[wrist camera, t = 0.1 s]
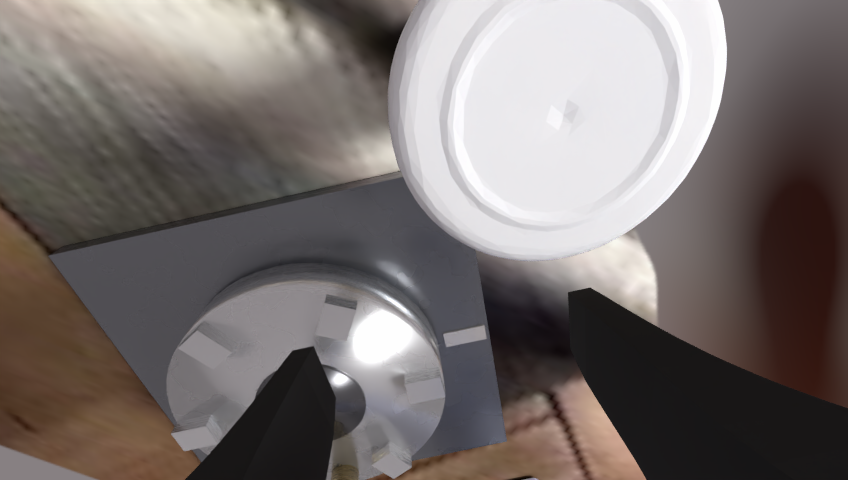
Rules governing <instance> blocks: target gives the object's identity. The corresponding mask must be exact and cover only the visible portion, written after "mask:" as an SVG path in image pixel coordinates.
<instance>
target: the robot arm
mask: <svg viewBox="0 0 848 480" xmlns="http://www.w3.org/2000/svg"><path fill="white" fill-rule="evenodd" d="M568 301H569V326H570V349H571V351H572V353H573V355H574V357H575V359H576V362H577V364H578V366H579V368H580V370H581V372H582V374H583V376H584V378H585V380H586V382H587V384H588V386H589V387H590V389H591V390H592V392H593V394H594V395H595V397H596V398H597V400H598V402H599V403H600V405H601V406H602V408H603V410H604V411H605V413H606V414H607V416H608V418H609V419H610V421H611V422H612V424H613V425H614V427H615V429H616V430H617V432H618V433H619V435H620V436H621V438H622V440H623V441H624V443H625V444H626V446H627V448H628V449H629V451H630V452H631V454H632V455H633V457H634V459H635V460H636V462H637V464H638V465H639V467H640V469H641V471H642V472H643V474H644V476H645V478H646V479H647V480H848V408H845V407H842V406H839V405H836V404H833V403H830V402H828V401H825V400H822V399H819V398H816V397H814V396H811V395H808V394H806V393H803V392H800V391H797V390H794V389H792V388H789V387H786V386H784V385H781V384H779V383H776V382H774V381H771V380H768V379H766V378H763V377H761V376H759V375H756V374H754V373H752V372H749V371H747V370H745V369H742V368H740V367H737V366H735V365H733V364H731V363H728V362H726V361H724V360H722V359H720V358H717V357H715V356H713V355H711V354H709V353H707V352H705V351H703V350H701V349H699V348H697V347H695V346H693V345H691V344H689V343H687V342H685V341H683V340H681V339H679V338H677V337H675V336H673V335H671V334H669V333H668V332H666V331H664V330H662V329H660V328H658V327H657V326H655V325H653V324H651V323H649V322H648V321H646V320H644V319H642V318H641V317H639V316H637V315H635V314H634V313H632V312H630V311H629V310H627V309H625V308H624V307H622V306H620V305H619V304H617V303H615V302H614V301H612V300H610V299H609V298H607V297H605V296H604V295H602V294H600V293H598V292H597V291H595V290H593V289H591V288H586V289H582V290H577V291H572V292H568ZM335 405H336V396H335V394H334V392H333V390H332V387H331V385H330V383H329V380H328V378H327V376H326V373H325V371H324V369H323V366H322V364H321V362H320V360H319V357H318V355H317V353H316V350H315V348H314V346H311V347H307V348H302V349H297V350H293V351H292V352H291V353H290V354H289V355H288V357H287V358H286V359H285V360H284V362H283V363H282V364H281V366H280V367H279V368H278V370H277V371H276V372H275V374H274V375H273V376H272V378H271V379H270V380H269V381H268V383H267V384H266V385H265V387H264V388H263V389H262V391H261V392H260V393H259V394H258V396H257V397H256V398H255V400H254V401H253V402H252V403H251V405H250V406H249V407H248V408H247V410H246V411H245V412H244V414H243V415H242V416H241V417H240V418H239V420H238V421H237V422H236V423H235V424H234V425H233V427H232V428H231V429H230V430H229V431H228V433H227V434H226V435H225V436H224V437H223V438H222V440H221V441H220V442H219V443H218V444H217V446H216V447H215V448H214V449H213V450H212V451H211V452H210V454H209V455H208V456H207V457H206V458H205V459H204V460H203V461H202V462H201V463H200V465H199V466H198V467H197V468H196V469H195V470H194V471H193V472H192V473H191V474H190V475H189V476H188V477H187V478H186V479H185V480H326V477H327V472H328V466H329V460H330V454H331V448H332V443H333V436H334V425H335ZM523 480H538V479H536V478H528V479H523Z"/></svg>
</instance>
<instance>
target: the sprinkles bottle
mask: <svg viewBox="0 0 848 480" xmlns="http://www.w3.org/2000/svg"><path fill="white" fill-rule="evenodd" d="M726 59H727V46H726V37H725V29H724V21H723V16H722V12H721V9H720V5H719V2H718V0H419V1H418V3H417V4H416V6H415V7H414V9H413V11H412V13H411V15H410V17H409V19H408V21H407V23H406V25H405V27H404V29H403V31H402V34H401V36H400V38H399V41H398V44H397V47H396V50H395V54H394V58H393V62H392V66H391V71H390V78H389V86H388V119H389V127H390V134H391V139H392V144H393V148H394V152H395V156H396V160H397V163H398V166H399V169H400V171H401V173H402V175H403V178H404V180H405V182H406V184H407V186H408V188H409V190H410V192H411V193H412V195H413V197H414V198H415V200H416V201H417V203H418V204H419V205H420V207H421V208H422V209H423V210H424V211H425V213H426V214H427V215H428V216H429V217H430V218H431V220H432V221H434V222H435V223H436V224H437V225H438V226H439V227H440V228H442V229H443V230H444V231H445V232H446V233H448V234H449V235H450V236H452V237H453V238H455V239H456V240H458V241H460V242H461V243H463V244H465V245H467V246H469V247H471V248H472V249H475V250H478V251H480V252H482V253H486V254H489V255H492V256H496V257H501V258H505V259H510V260H520V261H543V260H555V259H560V258H566V257H570V256H574V255H577V254H581V253H584V252H587V251H590V250H592V249H595V248H597V247H600V246H602V245H605V244H607V243H608V242H610V241H612V240H614V239H616V238H618V237H620V236H621V235H623V234H625V233H626V232H628V231H629V230H631V229H632V228H634V227H635V226H636V225H638V224H639V223H640V222H642V221H643V220H645V219H646V218H647V217H648V216H649V215H650V214H652V213H653V212H654V211H655V210H656V209H657V208H658V207H659V206H660V205H662V204H663V203H664V202H665V201H666V200H667V199H668V198H669V197H670V195H671V194H672V193H673V192H674V190H675V189H676V188H677V187H678V186H679V184H680V183H681V182H682V181H683V179H684V178H685V177H686V175H687V174H688V172H689V171H690V169H691V167H692V166H693V164H694V163H695V161H696V159H697V158H698V156H699V154H700V152H701V150H702V148H703V146H704V144H705V142H706V140H707V138H708V136H709V133H710V131H711V129H712V126H713V123H714V121H715V118H716V115H717V112H718V108H719V104H720V101H721V97H722V91H723V85H724V79H725V73H726Z"/></svg>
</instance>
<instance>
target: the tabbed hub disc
mask: <svg viewBox="0 0 848 480" xmlns="http://www.w3.org/2000/svg"><path fill="white" fill-rule="evenodd" d="M311 346H314V348H315V350H316V353H317V355H318V357H319V360H320V362H321V364H322V366H323V369H324V371H325V373H326V376H327V378H328V380H329V383H330V385H331V387H332V390H333V392H334V394H335V396H336V405H335V425H334V436H333V443H332V448H331V454H330V460H329V466H328V472H327V477H326V480H366V479H368V478H371V477H374V476H377V475H380V474H382V473H385V474H386V475H388V476H390V477H391V478H393V479H394V478H396V477H397V476H399V475H400V474H402V473H404V472H405V471H407V470H408V469H410V468H411V467H412V464H411V456H413V455H414V454H415V453H416V452H417V451H418V450H419V449H420V448H421V447H422V446H423V445H424V444H425V443H426V442H427V441H428V439H429V438H430V437H431V436H432V434H433V432H434V431H435V429H436V427H437V426H438V423H439V421H440V418H441V416H442V413H443V408H444V403H445V384H444V378H443V372H442V365H441V359H440V353H439V346H438V342H437V339H436V336H435V333H434V330H433V329H432V327H431V325H430V323H429V321H428V319H427V318H426V317H425V315H424V314H423V313H422V311H421V310H420V308H419V307H418V306H417V305H416V304H415V303H414V302H413V301H412V300H411V299H410V298H409V297H407V296H406V295H405V294H403V293H402V292H401V291H399V290H398V289H397V288H395V287H394V286H392V285H390V284H388V283H387V282H385V281H383V280H381V279H379V278H377V277H374V276H372V275H370V274H367V273H365V272H362V271H358V270H355V269H352V268H348V267H343V266H337V265H332V264H320V263H297V264H288V265H281V266H275V267H271V268H268V269H264V270H261V271H257V272H255V273H252V274H250V275H248V276H245V277H243V278H241V279H239V280H238V281H236V282H234V283H233V284H231V285H229V286H227V287H226V288H225V289H224V290H223V291H221V292H220V293H219V294H218V295H216V296H215V297H214V298H213V300H212V301H211V302H210V303H209V304H208V305H207V306H206V307H205V309H204V310H203V311H202V313H201V314H200V316H199V317H198V318H197V320H196V321H195V322H194V324H193V325H192V327H191V328H190V329H189V331H188V332H187V333H186V335H185V336H184V338H183V339H182V340H181V342H180V344H179V345H178V347H177V348H176V350H175V352H174V354H173V356H172V359H171V361H170V364H169V367H168V373H167V379H166V383H167V396H168V401H169V405H170V408H171V411H172V413H173V415H174V418H175V420H176V421H177V424H176V426H175V427H174V429H173V431H172V433H171V434H172V436H173V437H174V438H175V440H176V441H177V442H178V444H179V445H180V446H181V448H182V449H183V450H184V451H188V450H192V449H197V448H199V449H200V450H201V451H202V452H204V453H205V454H207V455H209V454H210V452H211V451H212V450H213V449H214V448H215V447H216V446H217V444H218V443H219V442H220V441H221V440H222V438H223V437H224V436H225V435H226V434H227V433H228V431H229V430H230V429H231V428H232V427H233V425H234V424H235V423H236V422H237V421H238V420H239V418H240V417H241V416H242V415H243V414H244V412H245V411H246V410H247V408H248V407H249V406H250V405H251V403H252V402H253V401H254V400H255V398H256V397H257V396H258V394H259V393H260V392H261V391H262V389H263V388H264V387H265V385H266V384H267V383H268V381H269V380H270V379H271V378H272V376H273V375H274V374H275V372H276V371H277V370H278V368H279V367H280V366H281V364H282V363H283V362H284V360H285V359H286V358H287V357H288V355H289V354H290V353H291V352H292V351H293V350H297V349H302V348H307V347H311Z"/></svg>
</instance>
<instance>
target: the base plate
mask: <svg viewBox="0 0 848 480" xmlns="http://www.w3.org/2000/svg"><path fill="white" fill-rule="evenodd" d="M49 257H50V259H51V260H52V262H53V263H54V264H55V266H56V267H57V268H58V270H59V271H60V272H61V274H62V275H63V276H64V278H65V279H66V280H67V282H68V283H69V284H70V286H71V287H72V288H73V290H74V291H75V293H76V294H77V295H78V297H79V298H80V299H81V301H82V302H83V303H84V305H85V306H86V307H87V309H88V310H89V311H90V313H91V314H92V315H93V317H94V318H95V319H96V321H97V322H98V324H99V325H100V326H101V328H102V329H103V330H104V332H105V333H106V334H107V336H108V337H109V338H110V340H111V341H112V342H113V344H114V345H115V346H116V348H117V349H118V350H119V352H120V353H121V354H122V356H123V357H124V359H125V360H126V361H127V363H128V364H129V365H130V367H131V368H132V369H133V371H134V372H135V373H136V375H137V376H138V377H139V379H140V380H141V381H142V383H143V384H144V385H145V387H146V388H147V390H148V391H149V392H150V394H151V395H152V396H153V398H154V399H155V400H156V402H157V403H158V404H159V406H160V407H161V408H162V410H163V411H164V412H165V414H166V415H167V416H168V418H169V419H170V421H171V422H172V423H173V425H174V426H176V424H177V421H176V420H175V418H174V415H173V413H172V411H171V408H170V405H169V401H168V396H167V383H166V379H167V373H168V367H169V364H170V361H171V359H172V356H173V354H174V352H175V350H176V348H177V347H178V345H179V344H180V342H181V340H182V339H183V338H184V336H185V335H186V333H187V332H188V331H189V329H190V328H191V327H192V325H193V324H194V322H195V321H196V320H197V318H198V317H199V316H200V314H201V313H202V311H203V310H204V309H205V307H206V306H207V305H208V304H209V303H210V302H211V301H212V300H213V298H214V297H215V296H216V295H218V294H219V293H220V292H221V291H223V290H224V289H225V288H226V287H227V286H229V285H231V284H233V283H234V282H236V281H238V280H239V279H241V278H243V277H245V276H248V275H250V274H252V273H255V272H257V271H261V270H264V269H268V268H271V267H275V266H281V265H288V264H297V263H320V264H332V265H337V266H343V267H348V268H352V269H355V270H358V271H362V272H365V273H367V274H370V275H372V276H374V277H377V278H379V279H381V280H383V281H385V282H387V283H388V284H390V285H392V286H394V287H395V288H397V289H398V290H399V291H401V292H402V293H403V294H405V295H406V296H407V297H409V298H410V299H411V300H412V301H413V302H414V303H415V304H416V305H417V306H418V307H419V308H420V310H421V311H422V313H423V314H424V315H425V317H426V318H427V319H428V321H429V323H430V325H431V327H432V329H433V330H434V333H435V336H436V339H437V342H438V346H439V353H440V359H441V365H442V372H443V378H444V384H445V403H444V408H443V413H442V416H441V418H440V421H439V423H438V426H437V427H436V429H435V431H434V432H433V434H432V436H431V437H430V438H429V439H428V441H427V442H426V443H425V444H424V445H423V446H422V447H421V448H420V449H419V450H418V451H417V452H416V453H415V454H414V455H413V456H411V461H413V460H418V459H423V458H428V457H432V456H437V455H442V454H447V453H452V452H457V451H462V450H467V449H472V448H477V447H481V446H486V445H491V444H496V443H501V442H506V441H507V439H506V433H505V427H504V421H503V415H502V409H501V403H500V397H499V391H498V385H497V379H496V373H495V367H494V361H493V355H492V348H491V342H490V336H489V330H488V324H487V318H486V312H485V306H484V300H483V294H482V288H481V282H480V276H479V270H478V264H477V258H476V252H475V249H472V248H471V247H469V246H467V245H465V244H463V243H461V242H460V241H458V240H456V239H455V238H453V237H452V236H450V235H449V234H448V233H446V232H445V231H444V230H443V229H442V228H440V227H439V226H438V225H437V224H436V223H435V222H434V221H432V220H431V218H430V217H429V216H428V215H427V214H426V213H425V211H424V210H423V209H422V208H421V207H420V205H419V204H418V203H417V201H416V200H415V198H414V197H413V195H412V193H411V192H410V190H409V188H408V186H407V184H406V182H405V180H404V178H403V175H402V173H401V171H399V172H395V173H390V174H386V175H381V176H377V177H372V178H368V179H363V180H359V181H354V182H350V183H345V184H341V185H336V186H332V187H327V188H323V189H319V190H314V191H310V192H305V193H301V194H296V195H292V196H287V197H283V198H278V199H274V200H269V201H265V202H260V203H256V204H251V205H247V206H242V207H238V208H233V209H229V210H224V211H220V212H215V213H211V214H206V215H202V216H197V217H193V218H188V219H184V220H179V221H175V222H170V223H166V224H161V225H157V226H152V227H148V228H143V229H139V230H134V231H130V232H125V233H121V234H116V235H112V236H108V237H103V238H99V239H94V240H90V241H85V242H81V243H76V244H72V245H67V246H64V247H62V248H60V249H59V250H57V251H55V252H54V253H52V254H50V255H49ZM192 450H193V451H194V453H195V454H196V456H197V457H198V458H199V460H200V461H201V462H202V461H203V460H204V459H205V458H206V457H207V456H208V455H207V454H205V453H204V452H202V451H201V450H200V449H199V448H197V449H192Z"/></svg>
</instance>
